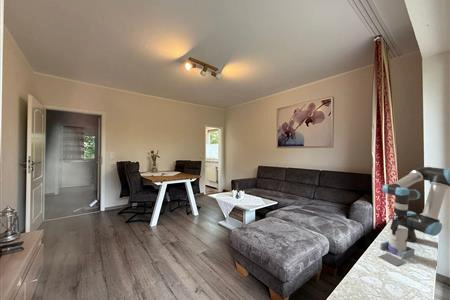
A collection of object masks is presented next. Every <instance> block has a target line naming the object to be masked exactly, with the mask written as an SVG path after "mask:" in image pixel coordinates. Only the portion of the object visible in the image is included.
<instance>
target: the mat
mask: <svg viewBox="0 0 450 300" xmlns="http://www.w3.org/2000/svg"><path fill="white" fill-rule="evenodd" d="M378 258H380V259H381V260H383V261H385V262H387V263H389V264H391V265H393V266H395V267H399V266H401V265H404V264H406V263H407V262H406V261H405V260H401V258H399V257H398V256H396V255H394V254H392V253H390V252H387V253H384V254H381V255H378Z"/></svg>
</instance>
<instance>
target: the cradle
mask: <svg viewBox="0 0 450 300" xmlns="http://www.w3.org/2000/svg"><path fill="white" fill-rule="evenodd" d="M388 246H389V240H386V241H383V242H380V244H379V247H380V248H379V249H380V251H383V250H387V249H388ZM415 253H416V252H415V249H414V248H412V247H411V246H408V245H407V247H406V251H405V252H403V253H402V256H400V259H401V260H403V261H405V260H407V259H410V258H412V257H415Z"/></svg>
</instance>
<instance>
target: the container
mask: <svg viewBox="0 0 450 300" xmlns="http://www.w3.org/2000/svg"><path fill="white" fill-rule="evenodd" d="M390 228H391V224H390V225H389V235H388V236H389V237H388V238H389V239H388V241H389V246H388V248H387V250H388V253H390V254H391V255H394V256H397V257H401V256H402V253H403V252H405V251H406V247H407V246H408V243H407V242H408V241H407V236H408V228H406V227H404V226H401V225H398V228H397V230H396V231H397V238H396V240H395V239H393V238H392V230H391V229H390Z"/></svg>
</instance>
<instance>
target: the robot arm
mask: <svg viewBox="0 0 450 300" xmlns="http://www.w3.org/2000/svg"><path fill="white" fill-rule="evenodd" d="M421 181H428V183H429V184H430V189H429V192H428V194H427V199H426V201H425V204H424V208H423V209H422V213H419V215H417V213H416V212H414V211H411V210H409V201H416V200H418V199H420V198H421V192H420V190H419V191H418V190H417V189H413V188H411V189H409V188H408V187H410V186H412V185H413V184H415V183H417V182H421ZM381 189H382V192H383V194H387V195H390V196H393V197H394V202H393V204H394V207H393V213H394V214H395V215H394V216H392V220H391V224H390V225H391V228H390V227H389V230H390V229H391V230H392V238H393V239H395V240H396V238H397V231H396V230H397V228H398V225H401V226H404V227H406V228H408V236H407V242H410V243H411V242H412V243H416V242H417V240H418V238H417V235H416V232H415V231H417V232H421V233H423V234H425V235H427V236H432V237H435V236H438V235H439V234H440V233H441V231H442V229H443V224H442V223H441V222H440V221H441V220H440V219H439V215H440V211H441V207H442V206H443V201H444V198H445V196H446V192H447V189H450V169H449V168H443V167H442V168H441V167H431V166H422V167H419V168H416V169H413V170H411V171H410V172H409V174H407V175H405V176H403V177H401V178H400V179H398V180H397V181H395V182H393V183H392V184H391V183H390V184H387V183H386V184H383V186H382V187H381Z"/></svg>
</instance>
